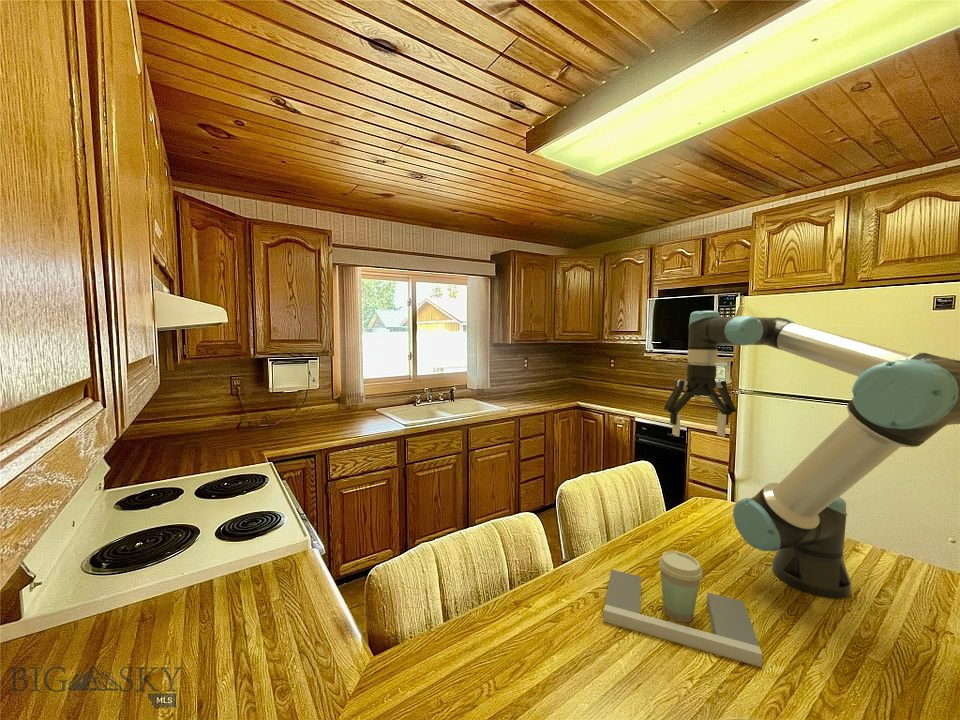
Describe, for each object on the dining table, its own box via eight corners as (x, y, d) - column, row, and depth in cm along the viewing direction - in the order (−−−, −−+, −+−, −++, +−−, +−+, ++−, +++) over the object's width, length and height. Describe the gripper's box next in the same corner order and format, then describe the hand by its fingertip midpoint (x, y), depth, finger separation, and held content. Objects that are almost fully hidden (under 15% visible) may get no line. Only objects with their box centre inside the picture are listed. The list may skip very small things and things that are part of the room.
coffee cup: (706, 630, 81) (709, 574, 81) (663, 624, 83) (665, 569, 82) (691, 602, 90) (694, 552, 89) (652, 597, 91) (654, 547, 91)
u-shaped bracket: (743, 611, 87) (743, 600, 87) (761, 667, 72) (762, 654, 72) (610, 579, 98) (611, 569, 98) (603, 621, 83) (604, 610, 83)
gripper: (735, 363, 119) (731, 432, 120) (653, 362, 118) (651, 432, 120) (752, 365, 111) (748, 439, 113) (666, 364, 111) (663, 438, 112)
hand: (698, 435), depth 116 cm, fingers open, 13 cm apart
